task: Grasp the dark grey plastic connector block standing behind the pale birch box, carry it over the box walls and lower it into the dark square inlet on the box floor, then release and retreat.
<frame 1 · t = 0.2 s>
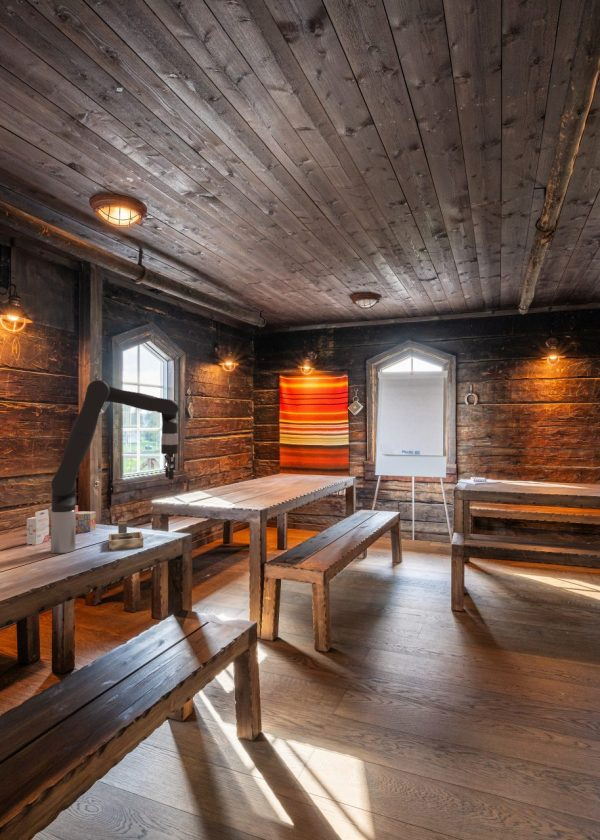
hand: (169, 478, 224), 29 cm above the table, fingers open, 8 cm apart
ink cartridge box: (37, 543, 221), on the table
multicoloured rectangular block: (72, 531, 246), on the table
connector: (122, 539, 227), on the table
box: (125, 545, 216), on the table
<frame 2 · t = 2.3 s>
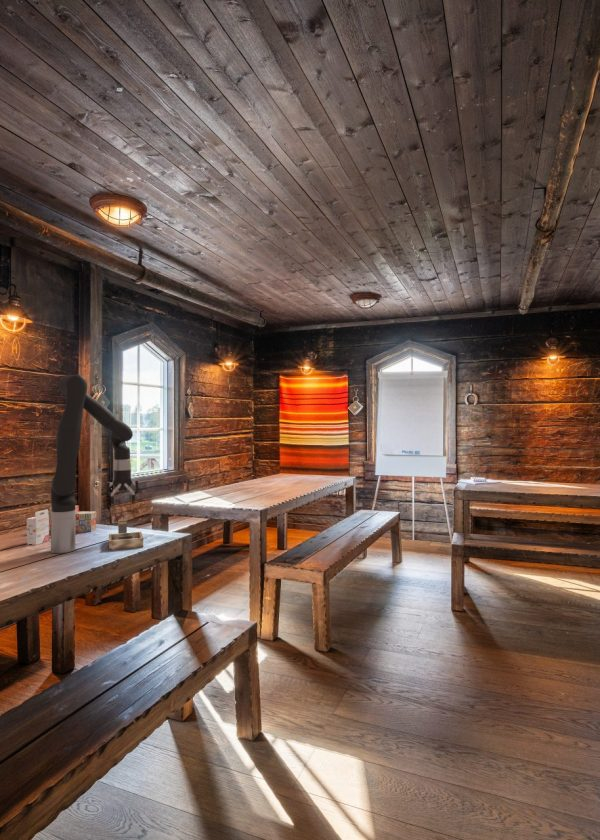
hand: (122, 503, 227), 17 cm above the table, fingers open, 8 cm apart
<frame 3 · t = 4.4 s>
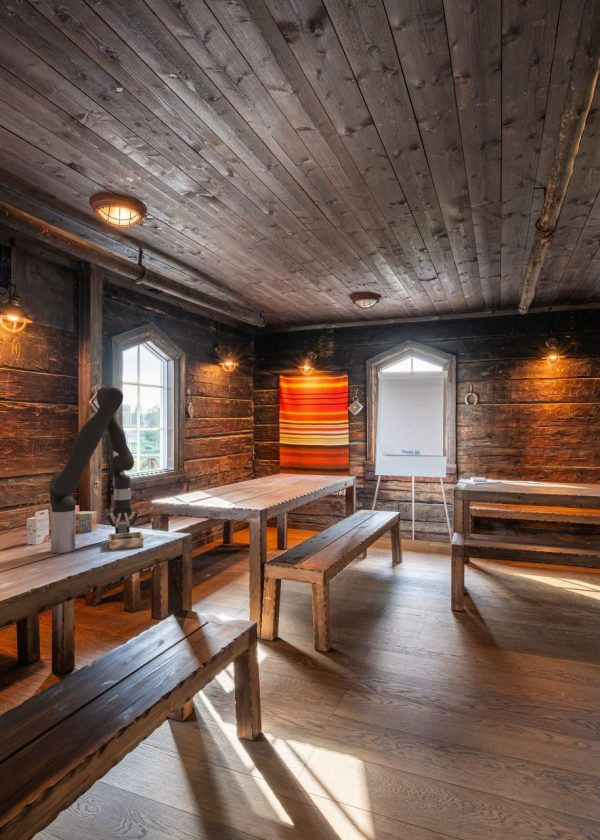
hand: (122, 534, 227), 2 cm above the table, fingers closed on connector, 3 cm apart
connector: (122, 539, 227), on the table, touching gripper
everything else where it was.
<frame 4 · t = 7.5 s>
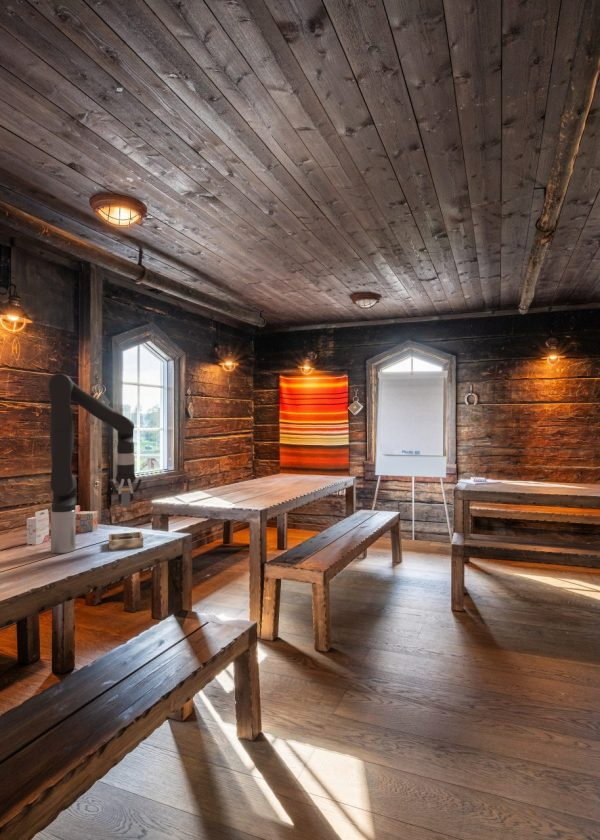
hand: (125, 501, 216), 19 cm above the table, fingers closed on connector, 3 cm apart
connector: (125, 506, 216), point 17 cm above the table, touching gripper
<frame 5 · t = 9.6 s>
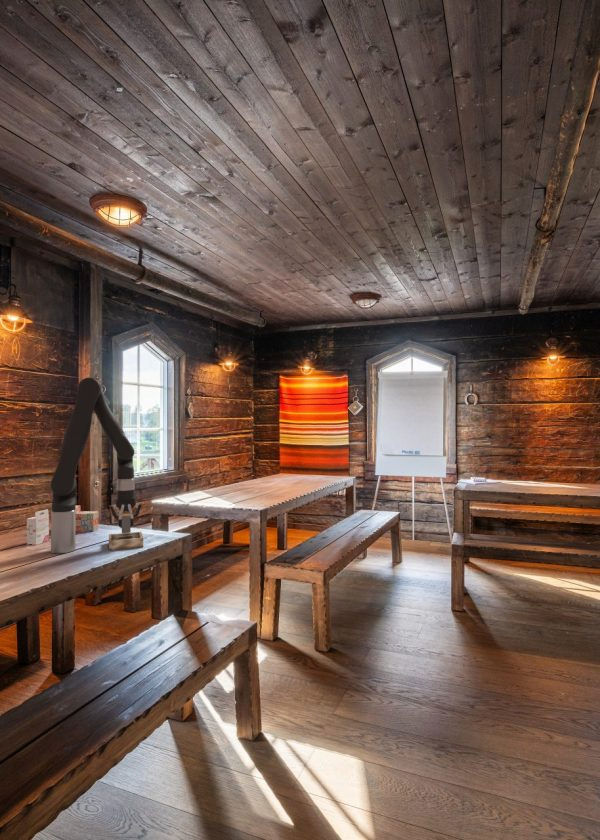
hand: (126, 527, 216), 8 cm above the table, fingers closed on connector, 3 cm apart
connector: (126, 532, 216), point 6 cm above the table, touching gripper
when the fingers open (4 cm above the table, at t = 11.0 s): connector drops 1 cm, resting on box.
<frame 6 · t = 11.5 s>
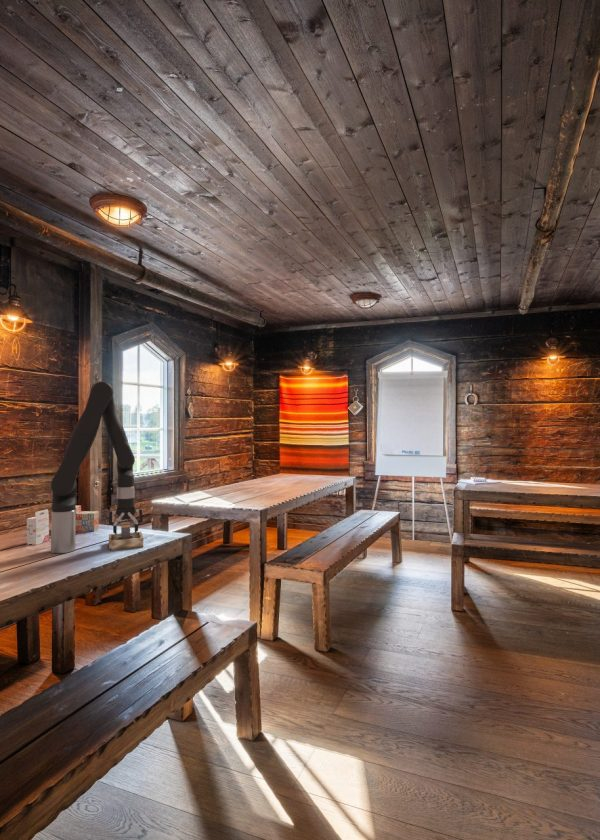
hand: (125, 533, 216), 5 cm above the table, fingers open, 8 cm apart
connector: (125, 543, 216), point 1 cm above the table, touching box
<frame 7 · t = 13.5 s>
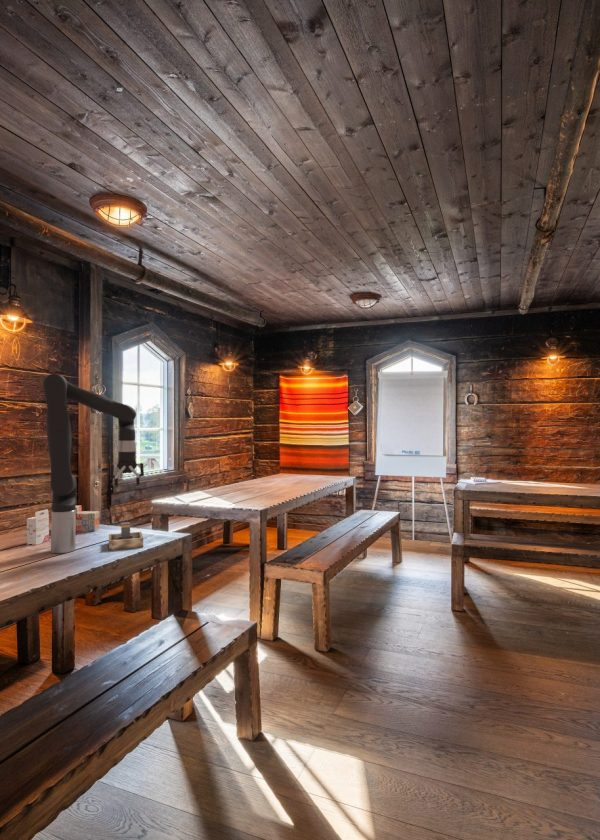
hand: (127, 486, 219), 26 cm above the table, fingers open, 8 cm apart
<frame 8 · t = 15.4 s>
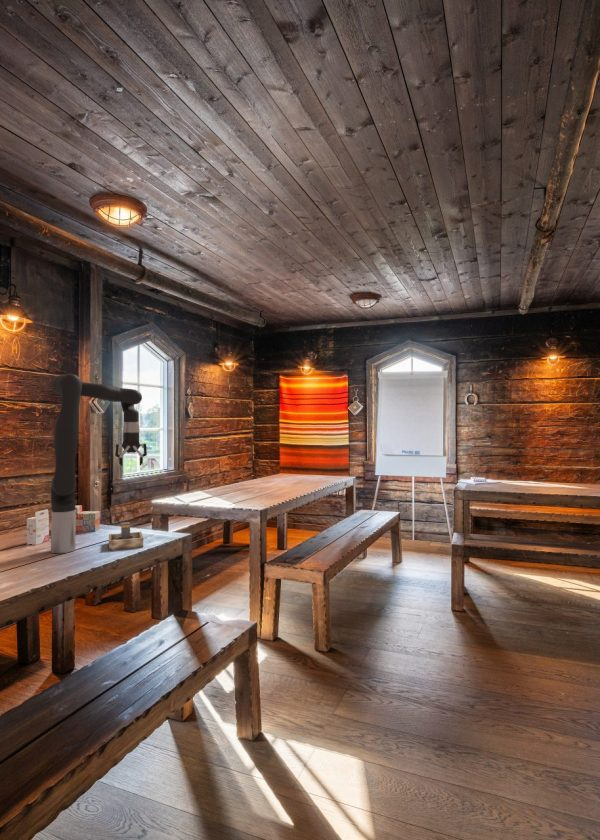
hand: (131, 465, 232), 34 cm above the table, fingers open, 8 cm apart
at the end: connector 0.1 cm off-centre on the box, point 0.8 cm above the box's base; connector tilted 0°; the gripper is holding nothing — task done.
